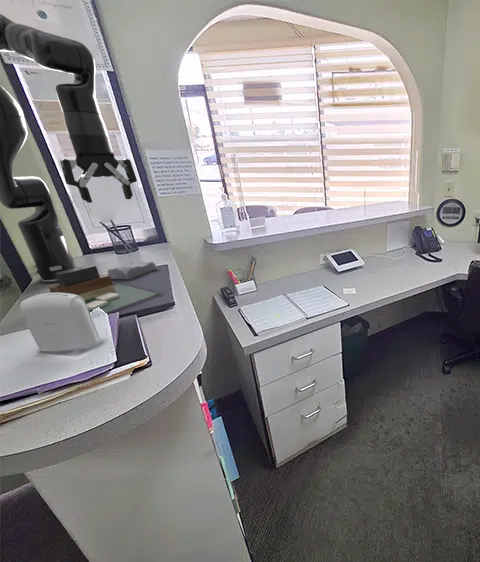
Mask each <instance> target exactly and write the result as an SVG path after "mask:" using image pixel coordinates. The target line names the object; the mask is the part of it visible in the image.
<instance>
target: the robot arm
mask: <svg viewBox="0 0 480 562" xmlns="http://www.w3.org/2000/svg"><path fill="white" fill-rule="evenodd" d="M0 52H1V53H15V54H17V55H19V56H20V57H23V58H24V59H27V60H29V61H32V62H35V63H36V64H37V65H39V66H40V67H42V68H45V69H47V70H52V71H57V72H62V73H65V74H70V75H71V74H72V75H73V76H74V80H73V82H72V83H71V82H70V83H58V84H57V85H56V86H55V93H56V96H57V100H58V102H59V106H60V109H61V112H62V115H63V120H64V125H65V127H66V128H65V129H66V130H67V133H68V136H69V139H70V143H71V146H72V148H73V152H74V155H75V159H67V158H62V159H60V160H59V163H60V166H61V170H62V173H63V177H64V180H65V184H67V185H69V186H73V187H76V188H77V189H78V191H79V195H80V196H81V197H80V198H81V199H82V200H83V201H85V202H86V203H87V204H91V203H93V200H92V196H91V193H90V191H89V188H88V187H87V184H88V183H89V181H90V180H91V178H101V177H105V178H111V177H113V179H116V180H117V181H118V182H120V183H121V188H122V191H123V195H124V198H125V200H132V198H133V196H134V195H133V190H132V188H131V184H133V183H136V182H138V179H137V176H136V173H135V170H134V167H133V164H132V162H131V160H130V159H129V158H123V159H117V158H116V157H115V153H114V150H113V147H112V144H111V140H110V136H109V132H108V129H107V126H106V124H105V121H104V119H103V117H102V114H101V110H100V107H99V103H98V100H97V96H96V95H97V94H96V62H95V58H94V56H93V54H92V52H91V51H90V49H89V48H88V47H87V46H86V45H85V44H84V43H82V42H80V41H78V40H75V39H71V38H67V37H64V36H60V35H56V34H53V33H51V32H50V33H49V32H46V31H43V30H41V29H39V28H36V27H33V26H29V25H26V24H21V23H16V22H15V21H12V20H11V19H10V18H9V17H6V16H4V14H2V13H0ZM27 137H28V129H27V124H26V120H25V116H24V111H23V109H22V108H21V106H20V104H19V103H18V102H17V100H16V99H14V97H13V96H12V95H11V94H10V93H9V92H8V91H7V90H6V89H5V88H4V87H3V86H2V85H1V84H0V204H1V205H2V206H3V207H5V208H6V209H9V210H10V209H11V210H20V209H29V208H34V211H33V213H32V214H30V215H28V216H27V217H25V218H23V219H20V220H19V221H17V226H18V227H17V228H18V229H19V231H20V233H21V235H22V238H23V240H24V242H25V244H26V247H27V249H28V252H29V254H30V256H31V258H32V260H33V263H34V265H35V268H36V269H37V270H36V273H38V275H39V277H40V280H41V282H42V283H57V282H58V280H57V277H56V275H55V273H57V272H62V271H66V270H70V269H74V268H77V266H76V263H75V261H74V259H73V256H72V253H71V251H70V248H69V245H68V243H67V240H66V237H65V235H64V232H63V230H62V227H61V225H60V221H59V216H58V212H57V210H56V207H55V204H54V201H53V198H52V194H51V192H50V189H49V187H48V185H47V184H46V183H45V181H44V180H43V179H41V178H40V177H38V176H14V171H13V169H14V162H15V159H16V157H17V156H18V153H19V152H20V150H21V149H22V147H23V146H24V144H25V143H26V140H27ZM75 166H77V167H79V169H81V170H82V171H81V174H80V175H79V177H78V180H75V176H74V173H73V170H74V169H75ZM118 166H120V167H121V168H123V169H124V171H125V174H126V176H127V178H126V177H125V176H124V175H123V174H122V173H121V172H120V171H118V169H117V168H118Z"/></svg>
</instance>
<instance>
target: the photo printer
mask: <svg viewBox="0 0 480 562" xmlns="http://www.w3.org/2000/svg"><path fill="white" fill-rule="evenodd" d="M19 311H20V312H19V313H20V314H21V317H22V318H23V320H24V322H25V324H26V326H27V328H28V330H29V332H30V334H31V336H32V338H33V341H34V342H35V343H36V346H37V347H38V349H39V351H40V352H57V351H60V352H61V351H72V350H84V349H89V348H90V347H93V346H95V345H97V344H98V343H99V342H100V340H101V337H100V334H99V332H98V330H97V327H96V325H95V322H94V320H93V317H92V318H91V315H90V313H89V311H88V308H87V306H86V303H85V301H84V299H83V298H82V297H80V296H78V295H74V294H69V293H51V292H45V293H39V294H35V295H32V296H30V297H28V298H26V299H24V300H22V301H21V302H20V304H19ZM98 337H99V338H98Z"/></svg>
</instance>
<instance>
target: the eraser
mask: <svg viewBox="0 0 480 562" xmlns="http://www.w3.org/2000/svg"><path fill="white" fill-rule="evenodd" d="M55 275H56V277H57V280H58V281H57V282H58V284H55V285H52V286H49V287H48V289H49V292H50V293H69V294H74V295H78V296H80V297H82V298H83V299H84V301H85V300H88V299H91V298H94V297H97V296H101V295H104V294H107V293H110V292H113V291H115V289H114V287H113V286H114V284H113V281H112V278H110V276H109V275H108V274H105V273H100V272H99V270H98V268H97V266H96V265H94V264H86V265H82V266H79V267H76V268H74V269H70V270H66V271H62V272H57V273H55Z"/></svg>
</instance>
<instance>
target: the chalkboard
mask: <svg viewBox="0 0 480 562" xmlns="http://www.w3.org/2000/svg"><path fill="white" fill-rule="evenodd" d="M113 287H114V289H115V291H113V292H112V293H116V294H119V296H120V297H118V298H115V299H112V300H109V301H108V304H107V305H104V306H102V307H100V309H102V310H103V311H104V312H105V313H104V314H107V313H108V312H112V311H115V310H118V309H120V308H123V307H126V306H129V305H131V304H134V303H137V302H140V301H142V300H145V299H148V298H151V297H153V296H156V295H159V293H157V292H154V291H151V290H145V289H141V288H137V287H133V286H130V285H125V284H121V283H118V284H114V285H113ZM110 293H111V292H110ZM107 294H108V293H107ZM97 297H98V296H97ZM95 300H96V298H95V297H94V298H91V299H88V300H85V303H86V304H88V303H90V302H93V301H95ZM97 301H98V300H97ZM88 311H89V313H90V312H92V311H93V310H88Z"/></svg>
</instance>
